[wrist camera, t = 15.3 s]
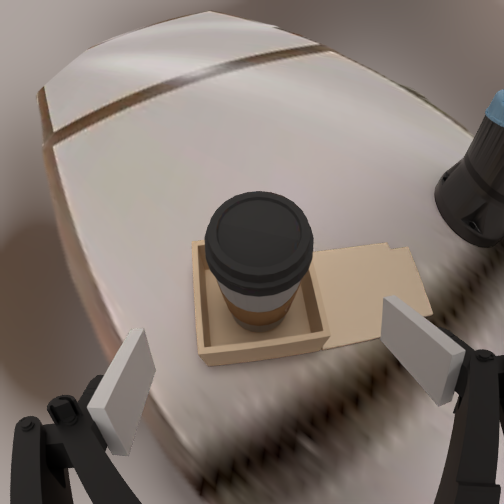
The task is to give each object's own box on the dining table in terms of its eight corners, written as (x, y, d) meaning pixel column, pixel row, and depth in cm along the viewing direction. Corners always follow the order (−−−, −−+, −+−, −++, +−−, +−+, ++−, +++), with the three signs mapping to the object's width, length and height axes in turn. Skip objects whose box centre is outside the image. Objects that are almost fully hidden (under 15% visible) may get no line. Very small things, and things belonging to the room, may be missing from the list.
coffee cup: (286, 350, 32) (305, 296, 19) (212, 331, 33) (182, 265, 21) (302, 283, 36) (325, 198, 23) (234, 266, 37) (222, 178, 25)
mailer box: (403, 242, 40) (420, 216, 34) (433, 323, 33) (457, 304, 28) (200, 268, 38) (191, 241, 33) (208, 366, 32) (198, 354, 27)
